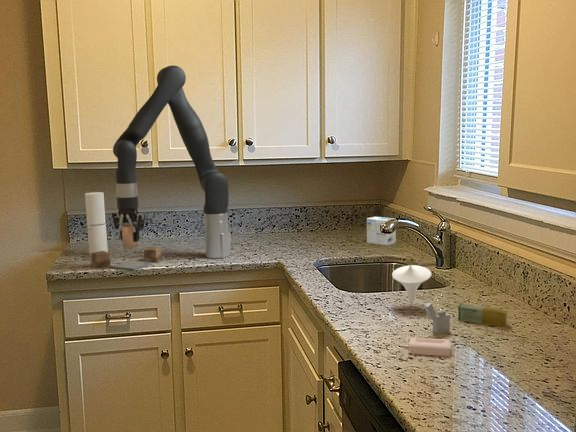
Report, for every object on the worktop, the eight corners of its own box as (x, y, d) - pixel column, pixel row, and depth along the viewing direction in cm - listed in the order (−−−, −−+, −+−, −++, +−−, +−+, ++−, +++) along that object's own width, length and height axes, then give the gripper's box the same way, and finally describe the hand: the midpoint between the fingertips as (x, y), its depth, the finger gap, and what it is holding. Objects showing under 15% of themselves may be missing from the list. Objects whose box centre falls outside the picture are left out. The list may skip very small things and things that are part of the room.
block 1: (110, 265, 226) (109, 252, 226) (98, 268, 223) (97, 254, 222) (104, 263, 230) (103, 250, 229) (91, 266, 227) (90, 253, 226)
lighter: (445, 329, 151) (446, 298, 150) (450, 331, 149) (450, 300, 148) (422, 334, 148) (423, 302, 147) (427, 336, 146) (427, 304, 145)
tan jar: (140, 245, 224) (139, 221, 223) (131, 248, 219) (129, 223, 218) (129, 244, 226) (127, 220, 225) (119, 247, 222) (117, 222, 220)
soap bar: (410, 346, 141) (410, 336, 141) (450, 349, 139) (450, 338, 139) (408, 354, 136) (408, 344, 136) (450, 358, 134) (450, 347, 134)
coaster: (151, 264, 226) (151, 262, 226) (133, 270, 217) (133, 268, 217) (130, 262, 231) (129, 260, 231) (112, 268, 222) (111, 266, 222)
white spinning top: (426, 313, 163) (426, 270, 161) (387, 308, 168) (387, 266, 166) (434, 302, 172) (435, 261, 171) (397, 298, 177) (398, 258, 175)
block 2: (161, 259, 234) (161, 247, 233) (156, 262, 229) (155, 250, 228) (149, 259, 235) (148, 247, 234) (144, 262, 230) (143, 249, 229)
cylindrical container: (102, 256, 242) (97, 194, 238) (86, 255, 244) (81, 194, 240) (111, 252, 249) (106, 192, 245) (95, 252, 250) (90, 192, 246)
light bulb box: (396, 243, 254) (396, 218, 253) (387, 246, 250) (387, 220, 248) (375, 240, 262) (375, 215, 260) (366, 242, 257) (366, 217, 255)
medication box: (457, 320, 158) (457, 306, 157) (460, 317, 160) (460, 302, 159) (505, 327, 152) (506, 312, 151) (507, 324, 154) (508, 309, 153)
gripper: (149, 194, 220) (152, 240, 223) (118, 193, 226) (121, 238, 229) (136, 197, 213) (138, 244, 216) (104, 195, 220) (107, 241, 222)
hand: (129, 240), depth 223 cm, fingers closed on tan jar, 5 cm apart
